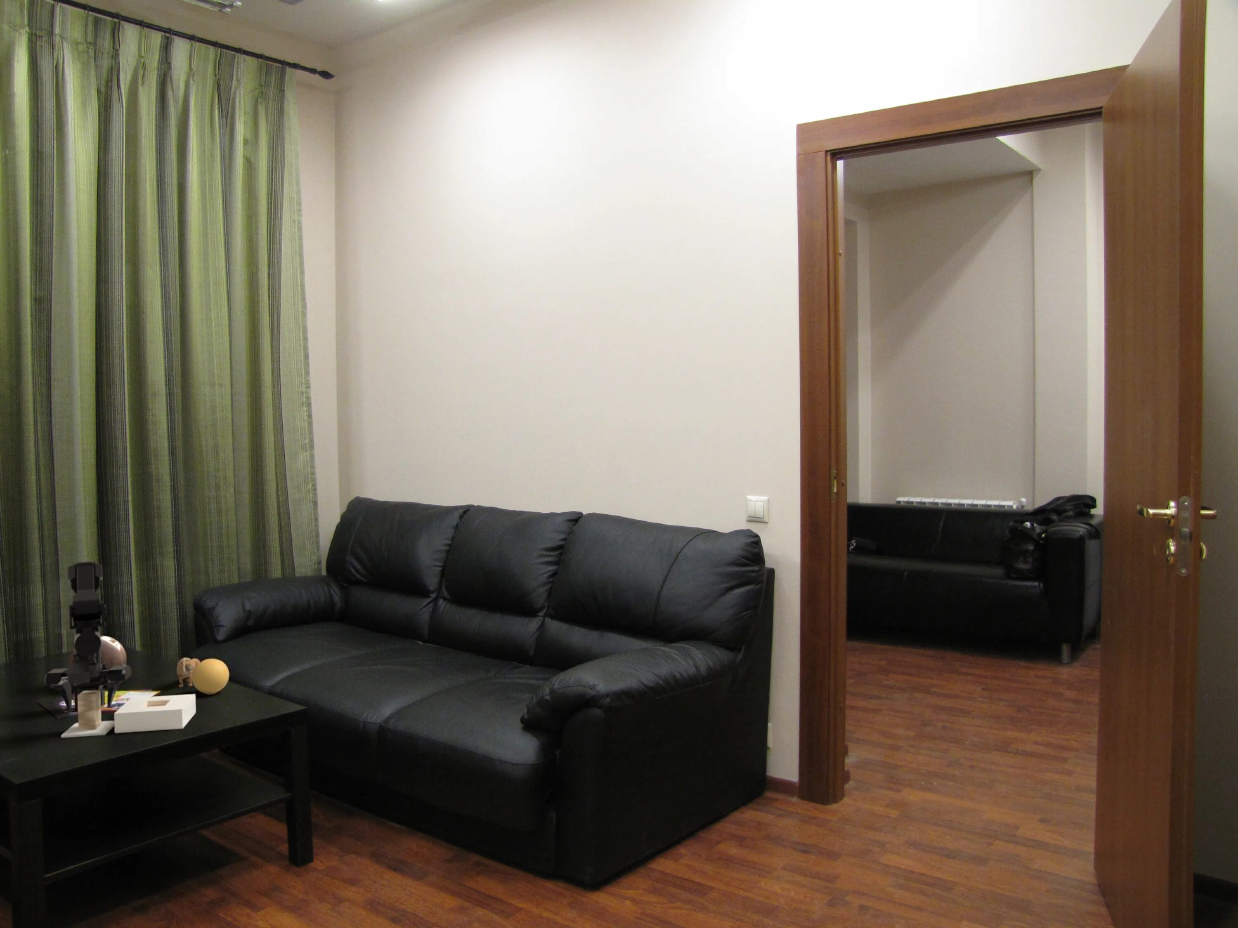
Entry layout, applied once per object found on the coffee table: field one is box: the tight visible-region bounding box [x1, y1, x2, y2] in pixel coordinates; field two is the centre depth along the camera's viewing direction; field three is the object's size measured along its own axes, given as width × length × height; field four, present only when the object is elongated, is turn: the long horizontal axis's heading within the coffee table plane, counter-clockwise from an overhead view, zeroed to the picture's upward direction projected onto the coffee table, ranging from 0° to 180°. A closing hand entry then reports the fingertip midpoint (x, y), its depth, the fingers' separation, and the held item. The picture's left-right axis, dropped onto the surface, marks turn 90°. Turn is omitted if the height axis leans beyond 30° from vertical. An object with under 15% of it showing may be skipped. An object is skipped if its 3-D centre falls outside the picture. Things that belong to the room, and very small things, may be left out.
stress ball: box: [192, 658, 230, 696], centre depth 274 cm, size 10×10×10 cm
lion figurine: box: [176, 657, 201, 688], centre depth 285 cm, size 15×5×9 cm, turn 10°
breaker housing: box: [113, 693, 197, 734], centre depth 247 cm, size 16×14×5 cm
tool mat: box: [60, 720, 115, 739], centre depth 241 cm, size 10×10×1 cm
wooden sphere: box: [68, 635, 127, 687], centre depth 283 cm, size 15×15×15 cm
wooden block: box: [77, 690, 102, 731], centre depth 241 cm, size 4×4×9 cm
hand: (89, 708), depth 241 cm, fingers open, 9 cm apart
